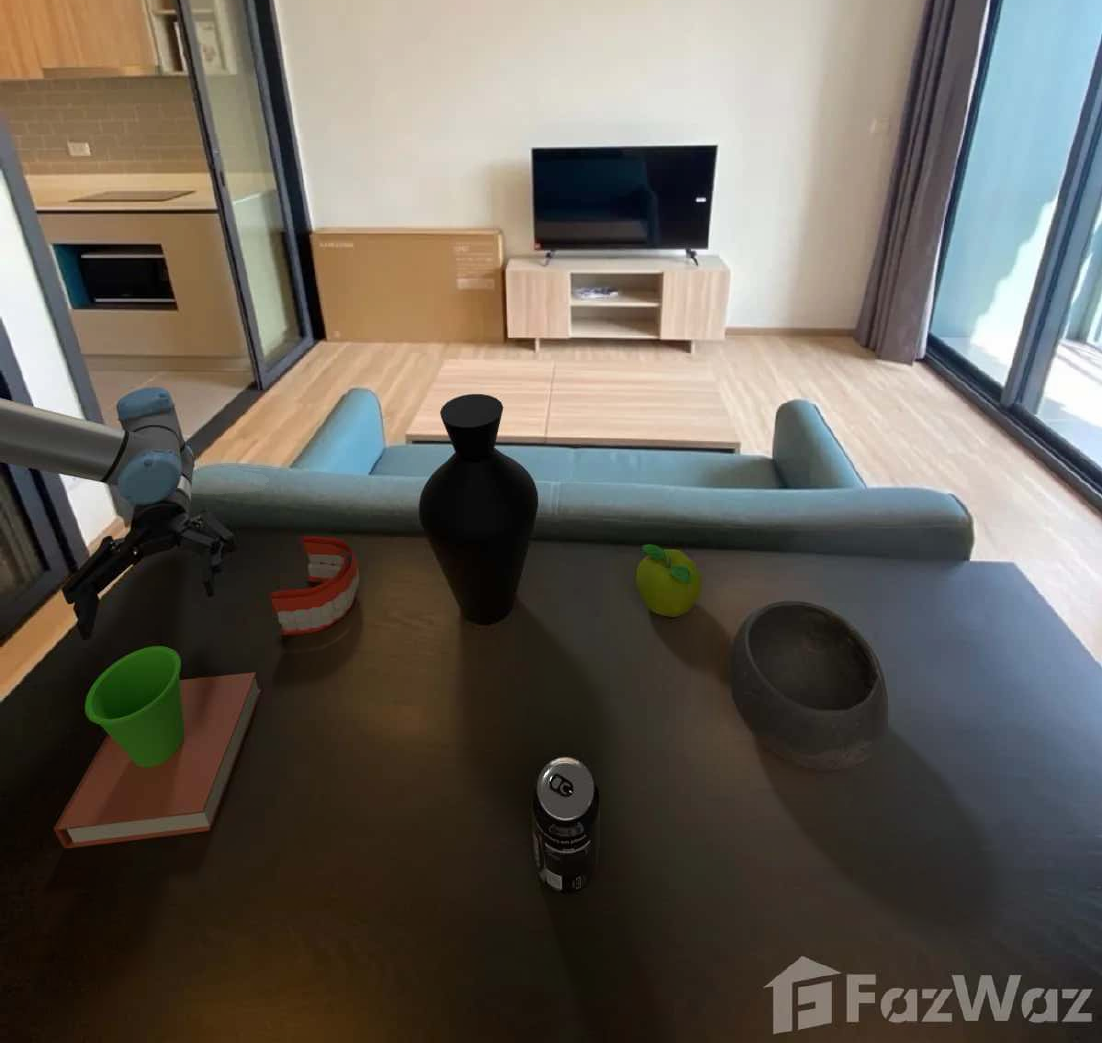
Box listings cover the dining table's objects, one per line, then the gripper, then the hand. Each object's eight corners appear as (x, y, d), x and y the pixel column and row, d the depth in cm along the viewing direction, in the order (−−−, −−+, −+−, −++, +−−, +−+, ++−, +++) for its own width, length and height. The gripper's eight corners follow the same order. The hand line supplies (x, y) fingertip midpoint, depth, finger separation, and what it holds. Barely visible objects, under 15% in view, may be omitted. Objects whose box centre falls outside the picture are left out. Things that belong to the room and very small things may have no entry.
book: (64, 848, 64) (53, 829, 63) (143, 702, 79) (136, 684, 77) (210, 830, 65) (202, 811, 64) (261, 690, 80) (255, 672, 79)
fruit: (663, 642, 85) (667, 591, 82) (624, 596, 93) (626, 547, 89) (710, 614, 90) (716, 564, 86) (669, 573, 97) (673, 525, 93)
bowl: (907, 744, 72) (930, 673, 67) (811, 837, 64) (830, 763, 59) (785, 634, 86) (797, 569, 82) (694, 698, 78) (702, 629, 73)
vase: (420, 581, 97) (395, 395, 83) (517, 547, 103) (508, 369, 90) (449, 670, 82) (424, 462, 69) (560, 624, 89) (556, 425, 76)
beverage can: (554, 806, 67) (552, 737, 62) (609, 843, 64) (611, 772, 59) (521, 872, 61) (517, 802, 57) (580, 916, 58) (580, 845, 54)
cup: (135, 806, 64) (104, 740, 60) (101, 755, 69) (70, 692, 65) (217, 734, 71) (195, 671, 67) (181, 693, 76) (158, 632, 72)
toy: (348, 639, 87) (339, 599, 84) (278, 639, 87) (267, 599, 84) (372, 572, 99) (366, 534, 96) (311, 572, 99) (302, 535, 96)
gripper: (254, 502, 100) (261, 593, 82) (72, 555, 89) (36, 673, 72) (245, 465, 97) (249, 551, 79) (56, 516, 86) (14, 628, 69)
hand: (148, 609), depth 75 cm, fingers open, 13 cm apart
